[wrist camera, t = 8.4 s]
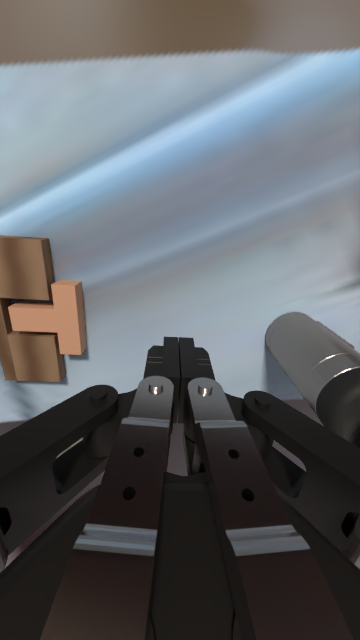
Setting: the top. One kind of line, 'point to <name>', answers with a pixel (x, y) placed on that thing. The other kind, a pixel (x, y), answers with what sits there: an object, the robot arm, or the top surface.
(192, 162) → the top surface
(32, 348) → the slot nest
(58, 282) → the t block
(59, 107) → the top surface
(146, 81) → the top surface
